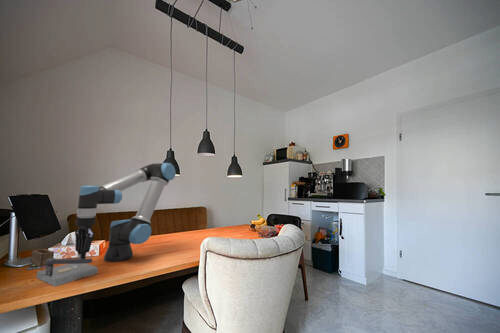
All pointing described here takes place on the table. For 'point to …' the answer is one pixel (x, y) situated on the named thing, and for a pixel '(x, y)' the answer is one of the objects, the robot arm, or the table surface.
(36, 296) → the table surface
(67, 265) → the plate
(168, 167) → the robot arm
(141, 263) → the table surface
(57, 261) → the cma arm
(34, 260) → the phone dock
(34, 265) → the smartphone
